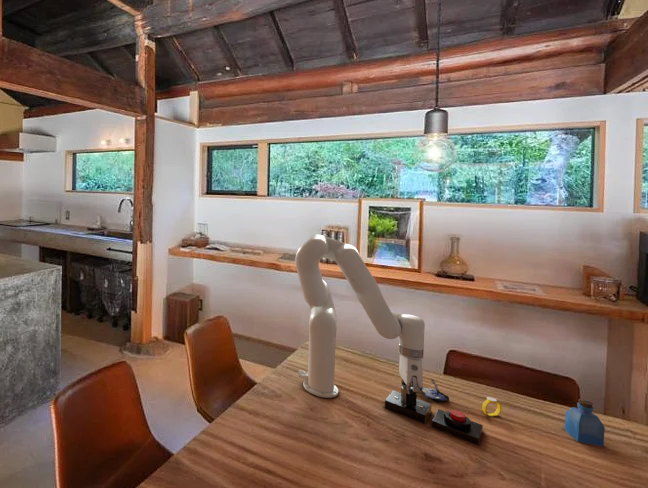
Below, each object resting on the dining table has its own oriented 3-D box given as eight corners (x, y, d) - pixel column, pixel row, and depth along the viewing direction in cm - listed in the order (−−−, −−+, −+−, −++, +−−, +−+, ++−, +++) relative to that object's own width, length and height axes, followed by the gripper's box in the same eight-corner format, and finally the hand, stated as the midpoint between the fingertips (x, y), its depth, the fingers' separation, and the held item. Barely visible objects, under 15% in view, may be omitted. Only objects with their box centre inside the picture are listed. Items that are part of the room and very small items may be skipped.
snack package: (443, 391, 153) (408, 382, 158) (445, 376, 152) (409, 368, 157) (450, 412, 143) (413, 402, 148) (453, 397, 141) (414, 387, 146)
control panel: (384, 408, 141) (385, 399, 141) (392, 397, 148) (393, 389, 147) (424, 424, 132) (425, 414, 132) (431, 412, 139) (431, 403, 139)
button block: (431, 426, 131) (432, 415, 130) (438, 414, 137) (438, 403, 137) (478, 445, 122) (478, 432, 122) (482, 431, 129) (483, 419, 129)
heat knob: (417, 406, 137) (418, 391, 137) (403, 404, 138) (403, 389, 138) (413, 399, 141) (413, 385, 141) (399, 397, 142) (399, 383, 142)
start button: (448, 418, 130) (449, 413, 130) (451, 413, 132) (451, 408, 132) (464, 424, 127) (464, 418, 127) (466, 418, 129) (466, 413, 129)
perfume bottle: (588, 434, 128) (590, 398, 128) (603, 446, 123) (605, 409, 122) (564, 429, 130) (566, 394, 130) (577, 441, 125) (580, 405, 124)
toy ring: (495, 413, 139) (496, 396, 139) (503, 417, 136) (504, 401, 136) (479, 413, 139) (480, 396, 139) (486, 418, 136) (487, 401, 136)
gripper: (431, 363, 130) (429, 416, 130) (414, 342, 146) (412, 390, 147) (405, 359, 132) (403, 412, 133) (391, 339, 148) (389, 386, 149)
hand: (408, 400), depth 140 cm, fingers closed on heat knob, 4 cm apart
